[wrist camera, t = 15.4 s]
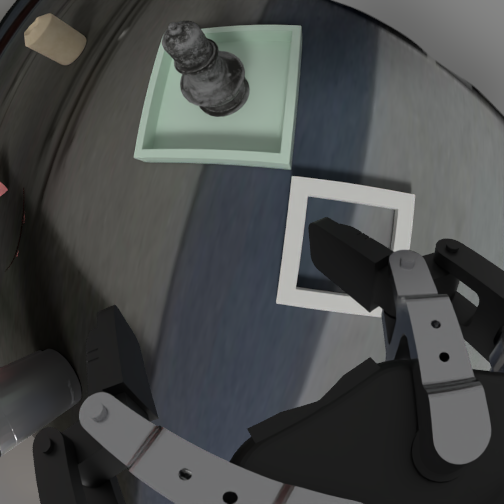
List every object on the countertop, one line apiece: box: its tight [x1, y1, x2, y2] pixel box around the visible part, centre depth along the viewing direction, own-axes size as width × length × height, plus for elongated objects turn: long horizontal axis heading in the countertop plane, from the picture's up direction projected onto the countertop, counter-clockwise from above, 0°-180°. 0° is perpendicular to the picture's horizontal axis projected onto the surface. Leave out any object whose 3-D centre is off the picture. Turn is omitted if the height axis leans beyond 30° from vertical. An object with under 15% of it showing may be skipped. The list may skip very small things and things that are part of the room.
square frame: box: [276, 176, 415, 317], centre depth 24 cm, size 11×11×1 cm
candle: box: [24, 13, 86, 65], centre depth 24 cm, size 6×6×10 cm
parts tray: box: [134, 25, 303, 170], centre depth 24 cm, size 15×15×2 cm
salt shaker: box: [162, 21, 250, 117], centre depth 19 cm, size 6×6×12 cm
